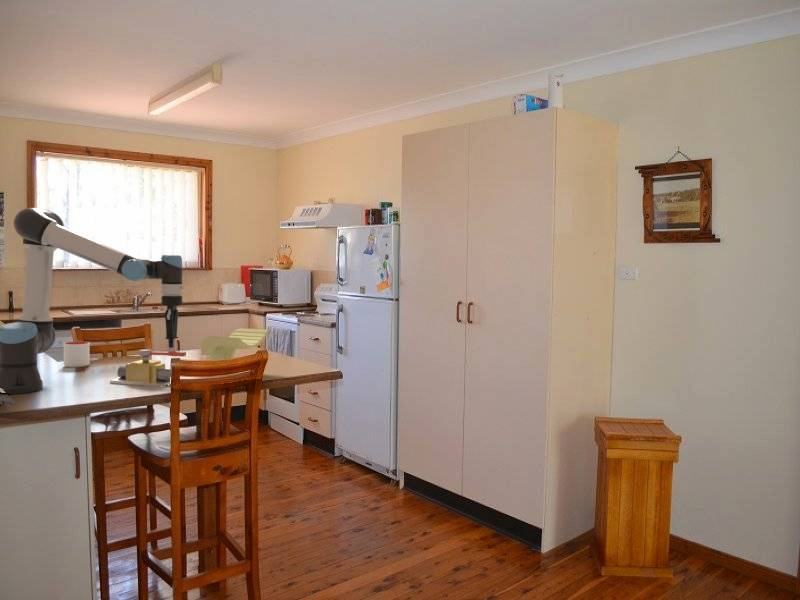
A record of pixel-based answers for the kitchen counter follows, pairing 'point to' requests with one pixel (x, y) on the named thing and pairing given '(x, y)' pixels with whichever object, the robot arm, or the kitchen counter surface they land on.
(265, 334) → the slatted curved stool
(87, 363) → the cup
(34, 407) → the kitchen counter surface
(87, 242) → the robot arm
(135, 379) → the valve
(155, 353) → the lever
